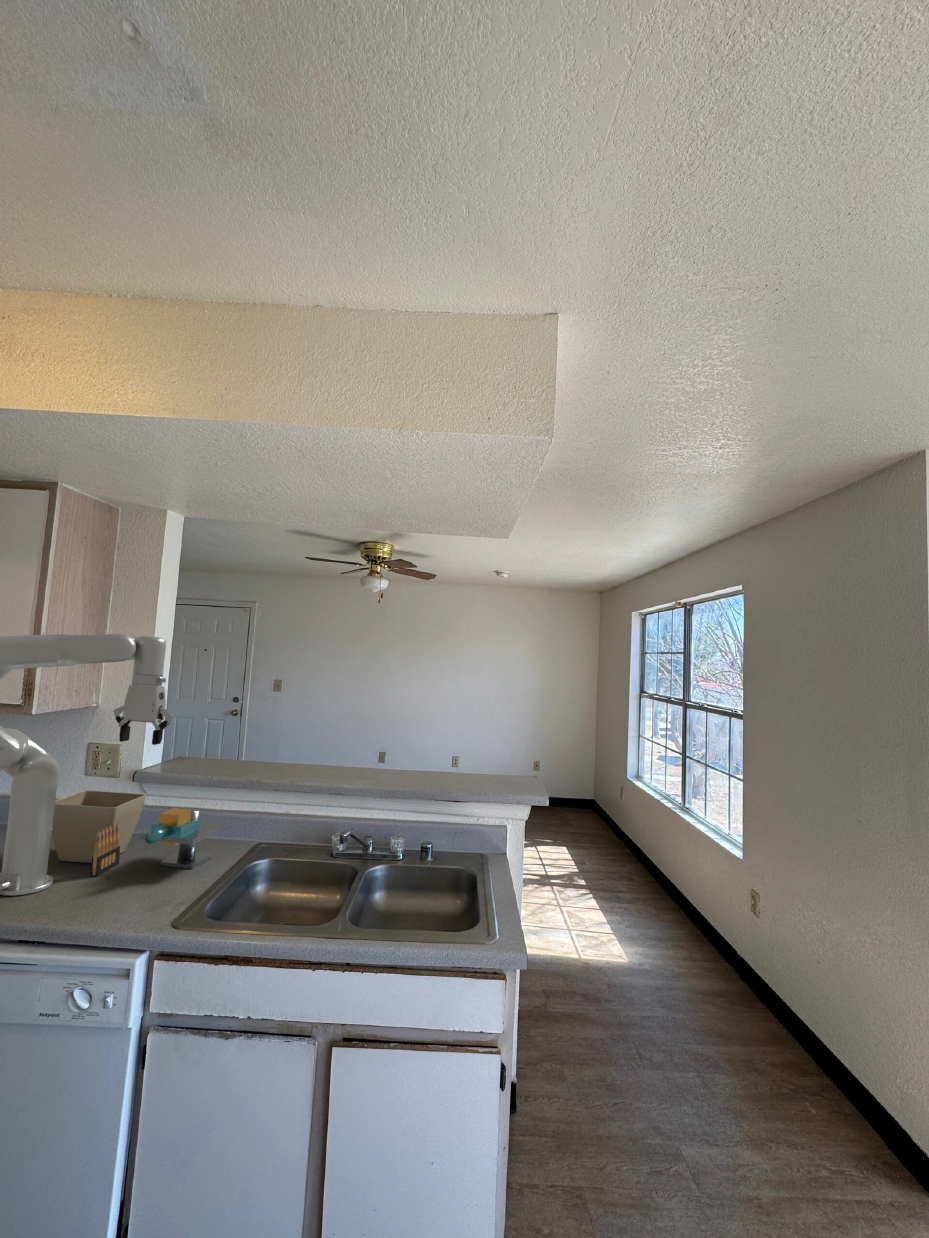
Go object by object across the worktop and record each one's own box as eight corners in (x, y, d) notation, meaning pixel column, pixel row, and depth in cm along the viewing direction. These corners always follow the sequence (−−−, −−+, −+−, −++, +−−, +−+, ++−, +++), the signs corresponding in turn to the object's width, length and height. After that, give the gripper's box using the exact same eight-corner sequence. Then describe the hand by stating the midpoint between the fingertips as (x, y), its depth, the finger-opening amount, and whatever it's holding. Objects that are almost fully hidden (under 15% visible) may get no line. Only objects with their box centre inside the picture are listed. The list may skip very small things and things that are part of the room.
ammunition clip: (96, 876, 164) (100, 831, 165) (89, 876, 164) (93, 831, 165) (119, 863, 175) (122, 821, 176) (112, 863, 175) (116, 820, 176)
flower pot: (79, 844, 189) (86, 789, 190) (141, 848, 189) (147, 793, 191) (38, 864, 170) (46, 803, 171) (107, 869, 170) (114, 807, 172)
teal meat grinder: (172, 852, 188) (178, 803, 189) (221, 858, 186) (226, 808, 187) (117, 880, 163) (123, 823, 164) (172, 887, 161) (179, 829, 162)
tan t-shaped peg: (170, 839, 177) (173, 807, 178) (188, 841, 176) (191, 809, 177) (156, 845, 170) (160, 813, 171) (175, 847, 170) (178, 815, 171)
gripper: (183, 682, 172) (177, 743, 171) (127, 678, 175) (120, 738, 173) (167, 683, 165) (160, 747, 164) (109, 678, 167) (102, 741, 166)
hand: (140, 742), depth 169 cm, fingers open, 9 cm apart
